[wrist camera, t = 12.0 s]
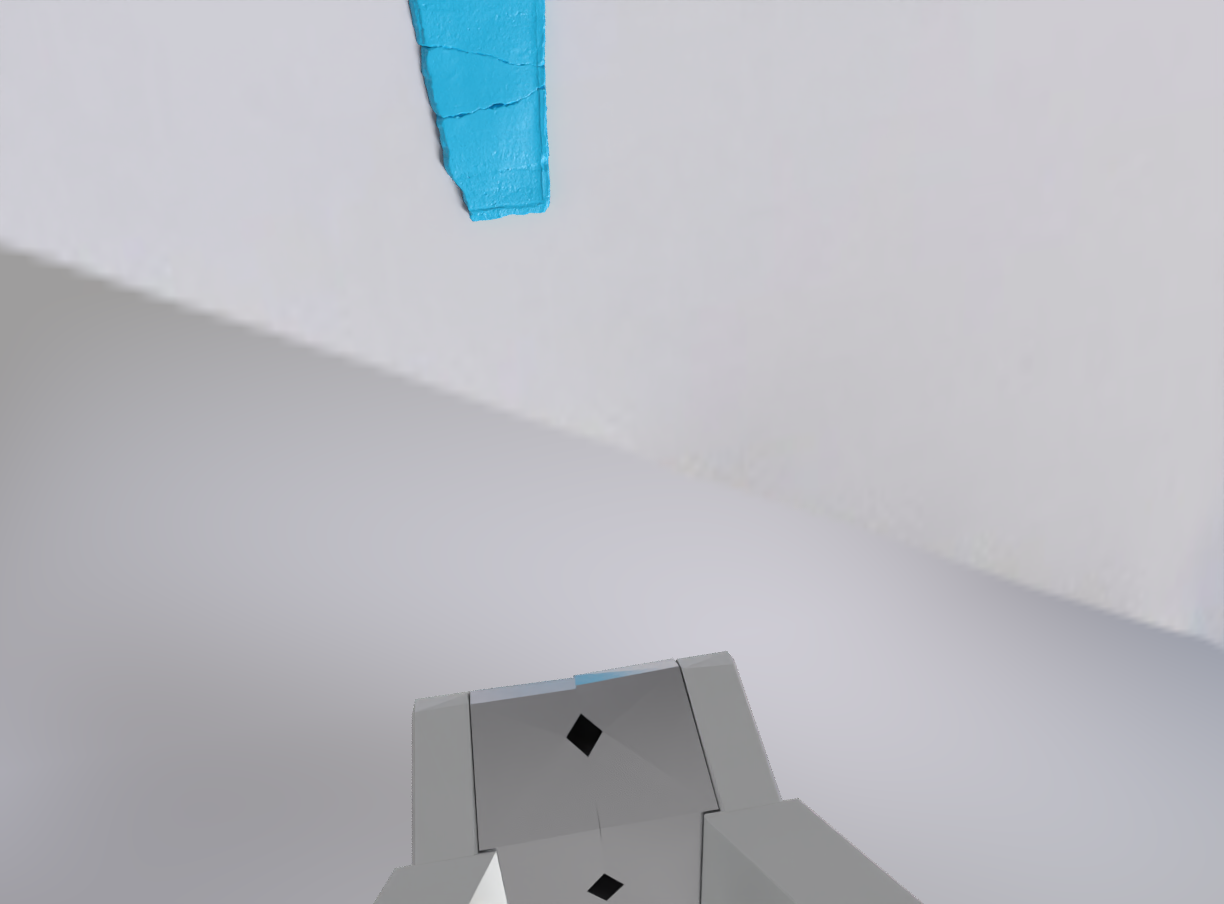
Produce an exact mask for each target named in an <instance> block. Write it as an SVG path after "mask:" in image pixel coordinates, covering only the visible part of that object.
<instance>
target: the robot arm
mask: <svg viewBox="0 0 1224 904" xmlns="http://www.w3.org/2000/svg"><path fill="white" fill-rule="evenodd" d="M573 677H574V678H567V679H561V680H560V679H559V680H552V681H544V682H537V683H529V684H521V685H514V686H506V687H498V688H491V689H483V690H475V691H468V692H462V693H455V694H448V695H442V696H434V697H428V698H421V699H416V700H415V704H414V709H413V713H412V865H409V866H404V867H399V868H395V869H394V871H393V873H392V874H391V876H390V878H389V879H388V881H387V882H386V884H385V886H384V887H383V889H382V891H381V892H380V894H379V895H378V897H377V899H376V900H375V902H374V904H923V903H922V902H921V901H920V900H919V899H917V898H916V897H915V896H914V895H913V894H911V893H910V892H909V891H908V890H907V889H905V888H904V887H903V886H902V885H901V884H899V883H898V882H897V881H896V880H895V879H894V878H892V877H891V876H890V875H889V874H888V873H886V872H885V871H884V870H883V869H882V868H880V867H879V866H878V865H877V864H876V863H875V862H873V861H872V860H871V859H870V858H869V857H867V856H866V855H865V854H864V853H863V852H861V851H860V850H859V849H858V848H857V847H855V846H854V845H853V844H852V843H851V842H850V841H848V840H847V839H846V838H845V837H843V836H842V835H841V834H840V833H839V832H838V831H836V830H835V829H834V828H833V827H831V825H829V824H828V823H827V822H826V821H825V820H823V819H822V818H821V817H820V816H819V815H817V814H816V813H815V812H814V811H813V810H812V809H810V808H809V807H808V806H807V805H805V804H804V803H803V802H802V801H801V800H800V799H799V798H797V799H790V800H782V798H781V795H780V792H779V789H778V786H777V783H776V780H775V777H774V774H773V772H772V769H771V766H770V763H769V760H768V757H767V754H766V751H765V749H764V745H763V742H762V740H761V737H760V734H759V731H758V728H757V725H756V722H755V719H754V716H753V714H752V710H751V708H750V704H749V702H748V699H747V696H746V693H745V690H744V687H743V684H742V681H741V678H740V676H739V672H738V670H737V667H736V664H735V661H734V659H733V658H732V657H731V655H730V654H729V653H728V652H727V651H725V652H718V653H712V654H706V655H700V656H693V657H688V658H681V659H677V660H676V661H675V660H674V659H667V660H661V661H656V662H650V663H644V664H638V665H633V666H626V667H621V668H615V669H609V670H604V671H597V672H591V673H586V674H580V675H574V676H573Z"/></svg>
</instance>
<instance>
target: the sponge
mask: <svg viewBox="0 0 1224 904" xmlns="http://www.w3.org/2000/svg"><path fill="white" fill-rule="evenodd" d="M409 5H410V9H411V15H412V23H413V26H414V28H415V32H416V41H417V43H418V44H419V45H421V46H422V48H421V53H422V55H421V58H422V59H421V61H422V62H421V64H422V65H421V67H422V69H421V70H422V71H421V72H422V74H423V76H424V77H425V85H426V88H427V91H428V92H427V93H428V97H429V100H430V104H431V107H432V109H433V111H434V112H435V113H436V116H437V121H436V125H437V127H438V128H439V132H440V142H441V145H442V149H443V156H444V159H443V160H444V168H445V170H446V171H447V173H448V175H450V177H451V178H452V180H454V181H455V182H456V184H457V185H458V186H459V187H460V188H461V190H462V192H463V200H464V202H465V203H466V205H467V207H468V210H469V214H470V218H471V220H472V221H479V220H491V219H497V218H502V217H503V216H507V215H510V214H516V215H525V214H528V213H542V212H545V211H546V209H547V208H548V207H549V204H550V201H549V200H550V179H549V166H548V156H549V146H548V145H549V143H548V135H547V127H546V125H547V119H546V111H547V107H546V89H545V88H546V87H545V79H546V78H545V76H546V75H545V60H544V57H545V0H409ZM424 46H427V47H424ZM432 46H433V47H432Z"/></svg>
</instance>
